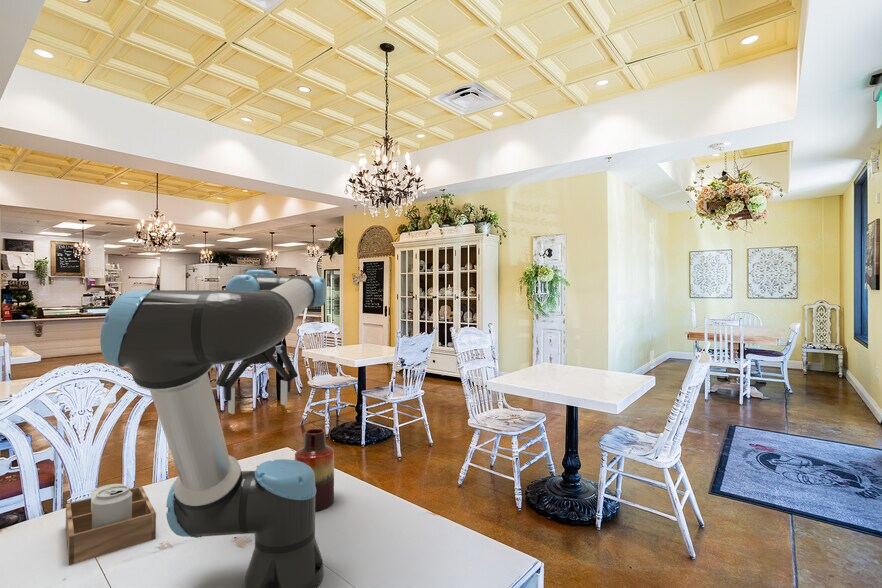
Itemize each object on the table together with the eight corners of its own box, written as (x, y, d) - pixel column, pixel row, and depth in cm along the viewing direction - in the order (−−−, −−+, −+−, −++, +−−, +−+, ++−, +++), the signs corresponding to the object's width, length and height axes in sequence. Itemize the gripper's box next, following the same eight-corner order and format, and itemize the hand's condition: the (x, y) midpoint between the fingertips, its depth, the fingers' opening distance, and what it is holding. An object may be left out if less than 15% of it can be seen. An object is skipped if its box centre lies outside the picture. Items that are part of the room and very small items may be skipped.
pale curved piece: (125, 525, 109) (126, 489, 109) (92, 535, 105) (92, 497, 105) (121, 516, 114) (122, 481, 114) (89, 524, 109) (90, 488, 110)
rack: (155, 543, 103) (155, 513, 103) (68, 570, 93) (69, 536, 93) (141, 511, 118) (141, 485, 119) (65, 532, 108) (66, 503, 108)
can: (110, 552, 98) (111, 498, 98) (82, 548, 99) (83, 495, 99) (139, 534, 105) (140, 484, 105) (113, 531, 107) (114, 481, 107)
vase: (324, 513, 118) (324, 437, 118) (286, 510, 120) (287, 435, 120) (339, 496, 128) (340, 426, 129) (305, 493, 130) (305, 424, 130)
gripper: (298, 325, 127) (297, 399, 127) (203, 329, 111) (202, 413, 110) (310, 327, 122) (309, 403, 121) (212, 331, 105) (211, 419, 105)
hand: (258, 408), depth 116 cm, fingers open, 13 cm apart
